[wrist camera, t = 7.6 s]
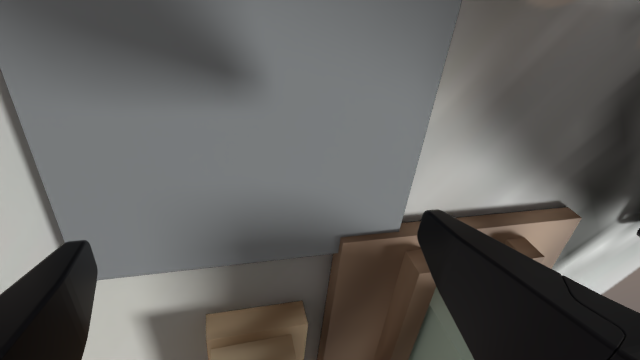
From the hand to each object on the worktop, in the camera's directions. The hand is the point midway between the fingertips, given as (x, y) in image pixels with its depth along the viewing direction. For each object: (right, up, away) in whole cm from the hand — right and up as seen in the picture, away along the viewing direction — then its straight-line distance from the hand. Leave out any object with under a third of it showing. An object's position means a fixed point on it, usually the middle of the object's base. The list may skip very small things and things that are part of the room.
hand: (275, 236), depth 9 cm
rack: (+8, -8, +15) cm, 19 cm away
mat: (-1, +3, +4) cm, 6 cm away
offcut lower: (-3, -8, +12) cm, 15 cm away
